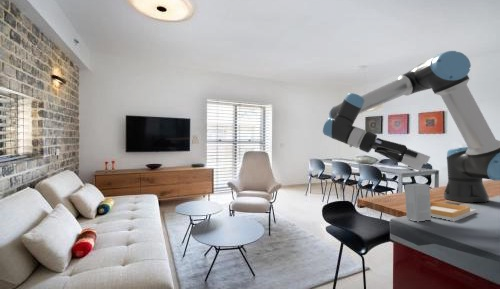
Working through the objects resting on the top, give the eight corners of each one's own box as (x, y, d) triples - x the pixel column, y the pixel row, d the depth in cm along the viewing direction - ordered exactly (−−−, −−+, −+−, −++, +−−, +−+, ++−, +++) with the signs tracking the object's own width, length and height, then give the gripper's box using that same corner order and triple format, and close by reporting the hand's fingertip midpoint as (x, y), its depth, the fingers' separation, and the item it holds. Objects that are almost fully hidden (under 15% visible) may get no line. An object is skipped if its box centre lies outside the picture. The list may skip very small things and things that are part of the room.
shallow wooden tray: (434, 206, 101) (434, 199, 101) (476, 212, 89) (475, 205, 89) (411, 213, 92) (411, 205, 92) (454, 221, 80) (453, 213, 80)
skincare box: (420, 217, 86) (418, 183, 86) (431, 221, 82) (430, 184, 82) (405, 219, 84) (404, 184, 85) (416, 222, 80) (414, 186, 80)
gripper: (360, 154, 106) (414, 177, 95) (355, 141, 84) (425, 168, 73) (368, 139, 105) (423, 160, 95) (365, 121, 84) (437, 146, 73)
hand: (424, 164), depth 84 cm, fingers open, 13 cm apart
